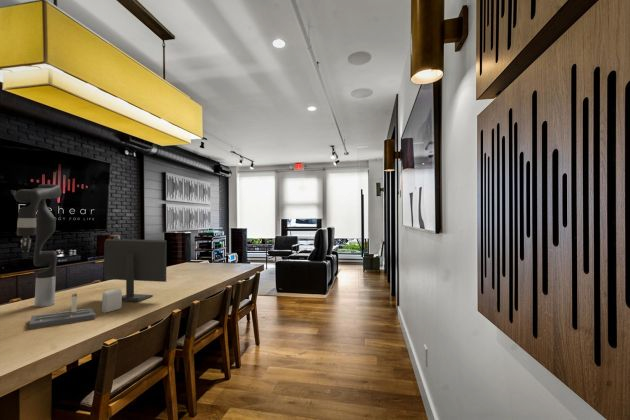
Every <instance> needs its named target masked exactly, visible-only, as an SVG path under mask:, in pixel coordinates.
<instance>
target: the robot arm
mask: <svg viewBox="0 0 630 420" xmlns="http://www.w3.org/2000/svg"><path fill="white" fill-rule="evenodd" d="M61 195H62V188H61V186H59V185H58V184H53V183H52V184H51V183H47V184H46V183H45V184H44V183H42V184H41V183H40V184H39V185H38V186H37V187H35V188H32V189H24V188H23V189H22V188H21V189H19V190H16V191H15V193H14V196H13V197H14V199H15V201H16V202H18V203H21V204H22V203H23V204H24V203H25V204H29V205H28V206H23V207H19V209H18V216H17V222H16V223H17V224H16V225H17V226H16V236H19V237H21V236H22V238H21V239H20V243H21V245H20V248H21V252H22V255H21V256H22V257H21V258H22V259H23V260H27V259H29V252H30V250H31V249H30V248H31V243H32V238H30V236H35V244H34V252H33V265H34V266H35V267H47V268H46V269H44V270H42V271H39V272H37V273H36V274H35V287H34V289H35V290H34V307H35V308H42V307H50V306H53V305H55V297H56V296H55V295H56V277H57V276H56V275H57V274H56V273H57V271H56V270H57V262H58V253H57V251H56V250H42V249H43V246H44V245H45V243H46V242H47V240H49V238H50V237H52V235H53V234H54V233H55V231H56V227H57V224H56V223H57V220H56V217H55V216H54V214H53V213H52V211H51V210H50V209H49V208H48V206H47V202H46V200H48V199H49V200H55V199H56V200H57V199H59V198H60V197H61Z"/></svg>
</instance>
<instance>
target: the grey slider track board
mask: <svg viewBox="0 0 630 420" xmlns="http://www.w3.org/2000/svg"><path fill="white" fill-rule="evenodd" d="M76 310H77V312H74V313H70V311H71V310H65V311H57V312H51V313H50V312H49V313H41V314H34V315H31V317H30V321H29V325H28V329H29V330H34V329H39V328H47V327H52V326H58V325H59V324H60V325H65V324H71V323H78V322H84V321H90V320H95V319H96V312H95V309H94V307H87V308H81V309H79V308H78V309H76Z"/></svg>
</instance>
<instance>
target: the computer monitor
mask: <svg viewBox="0 0 630 420" xmlns="http://www.w3.org/2000/svg"><path fill="white" fill-rule="evenodd" d="M167 242H168V241H167V240H165V239H164V240H163V239H131V238H129V239H126V238H125V239H124V238H106V239H105V240H104V244H103V245H104V247H103V252H104V253H103V254H104V255H103V256H104V257H103V260H104V261H103V262H104V263H103V277H104V279H105V280H112V281H113V280H114V281H115V280H116V281H117V280H118V281H125V283H126V284H125V286H126V287H125V294H122V302H123V303H124V302H125V303H126V302H127V303H129V302H130V303H139V302H142V301H144V300H147V299H150V298H152V297H153V296H154V295H153V294H140V293H135V282H136V281H138V282H140V281H141V282H161V283H165V282H166V283H167V261H168V259H167V258H168V257H167V255H168V254H167V252H168V250H167V247H168V245H167Z"/></svg>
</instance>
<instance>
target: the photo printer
mask: <svg viewBox="0 0 630 420" xmlns="http://www.w3.org/2000/svg"><path fill="white" fill-rule="evenodd" d="M122 296H123V291H122V289H121V288H112V289H108V290H106V291H104V292H102V298H101V299H102V301H101V312H102V313H104V314H106V313H109V312H113V311H117V310H121V309H122V308H123V307H122V304H123V303H122V302H123V301H122Z"/></svg>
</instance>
